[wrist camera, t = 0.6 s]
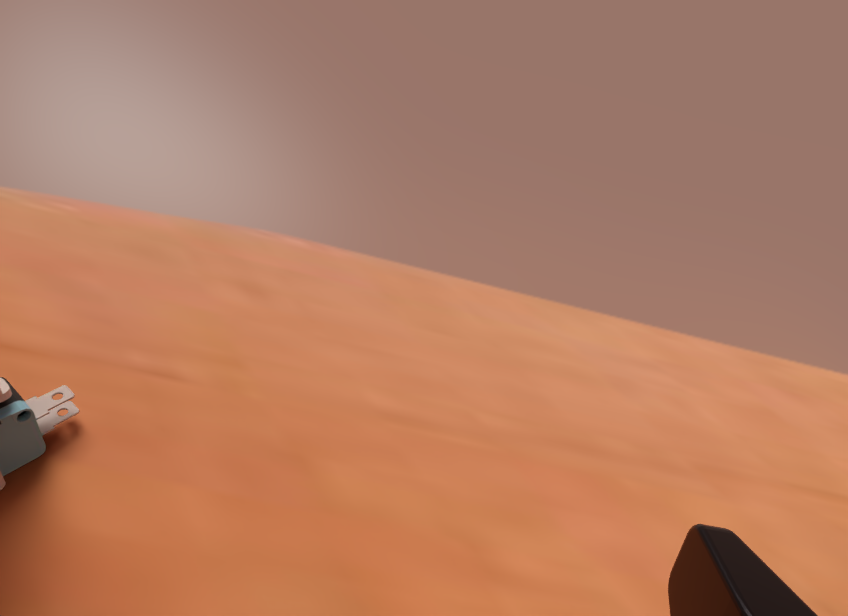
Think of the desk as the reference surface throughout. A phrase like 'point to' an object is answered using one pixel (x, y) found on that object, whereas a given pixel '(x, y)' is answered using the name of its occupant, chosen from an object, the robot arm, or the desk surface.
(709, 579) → the robot arm
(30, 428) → the push button
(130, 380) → the desk surface
